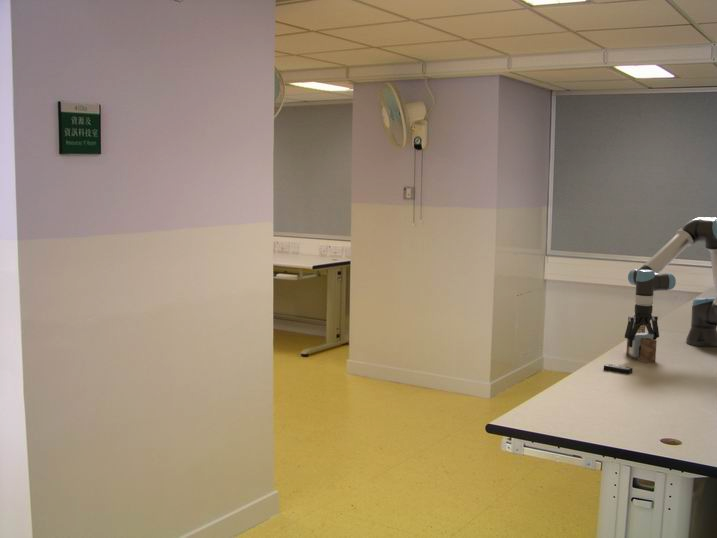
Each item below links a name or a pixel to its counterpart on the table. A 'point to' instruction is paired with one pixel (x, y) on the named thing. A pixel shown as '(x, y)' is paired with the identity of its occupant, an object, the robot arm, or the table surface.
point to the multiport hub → (618, 369)
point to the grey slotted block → (638, 342)
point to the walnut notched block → (646, 350)
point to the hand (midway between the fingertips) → (640, 353)
